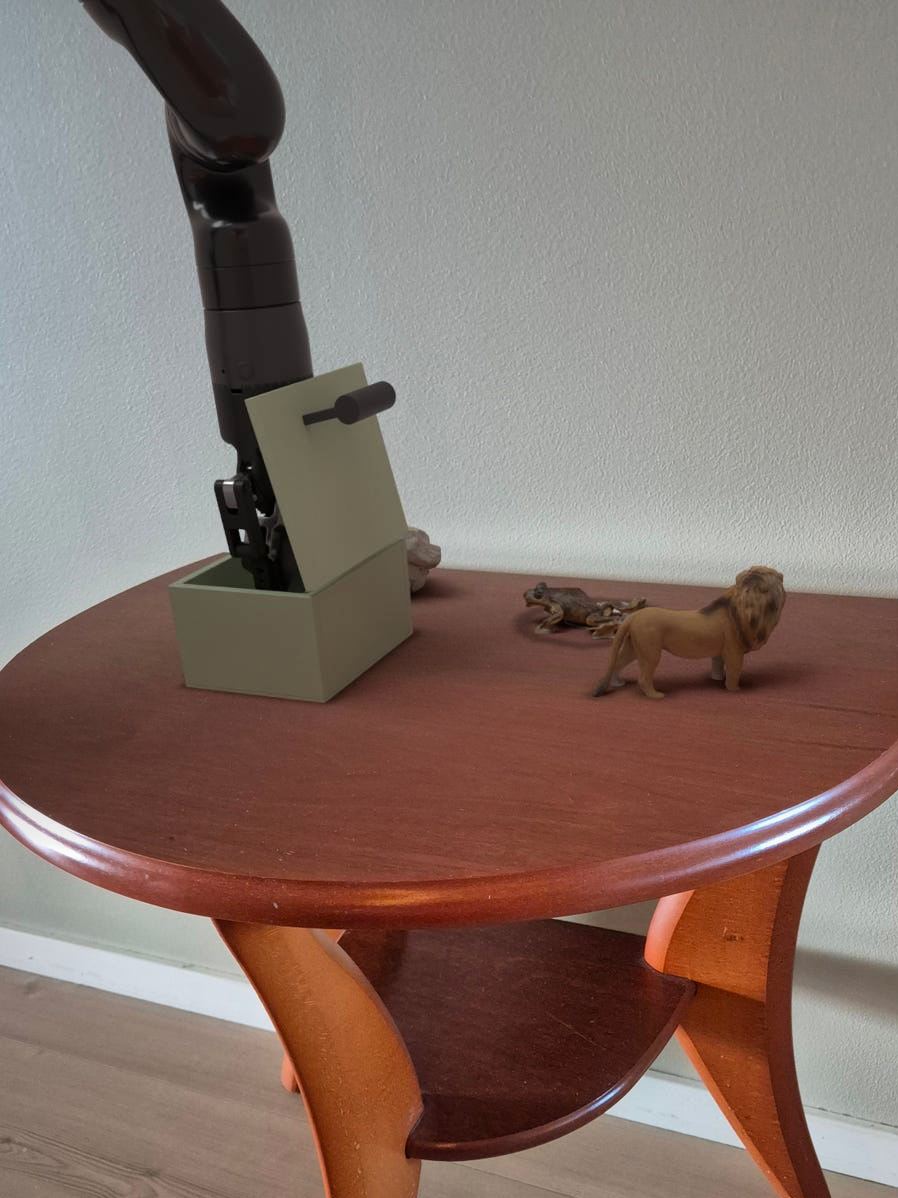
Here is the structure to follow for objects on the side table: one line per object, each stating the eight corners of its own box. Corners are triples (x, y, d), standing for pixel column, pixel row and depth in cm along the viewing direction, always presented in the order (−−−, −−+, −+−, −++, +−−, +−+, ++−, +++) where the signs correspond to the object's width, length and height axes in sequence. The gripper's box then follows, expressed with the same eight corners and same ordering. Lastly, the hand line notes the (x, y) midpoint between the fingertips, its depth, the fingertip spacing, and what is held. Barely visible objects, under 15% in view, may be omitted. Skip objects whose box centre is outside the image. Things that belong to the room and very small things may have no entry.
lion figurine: (762, 667, 93) (771, 554, 88) (792, 692, 88) (802, 574, 84) (583, 691, 91) (582, 576, 86) (603, 717, 86) (604, 597, 82)
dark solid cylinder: (278, 611, 94) (232, 579, 94) (316, 584, 98) (272, 554, 98) (302, 550, 90) (254, 517, 90) (340, 526, 94) (295, 494, 94)
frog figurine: (509, 652, 99) (507, 608, 97) (529, 605, 109) (528, 565, 107) (647, 654, 97) (648, 609, 95) (655, 606, 107) (656, 565, 105)
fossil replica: (357, 574, 121) (309, 613, 113) (339, 494, 116) (288, 529, 109) (464, 573, 116) (421, 614, 108) (450, 489, 111) (404, 526, 104)
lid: (243, 400, 80) (312, 381, 77) (353, 363, 93) (415, 347, 90) (306, 592, 86) (371, 581, 83) (401, 533, 98) (460, 521, 96)
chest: (187, 693, 94) (166, 585, 90) (288, 626, 107) (275, 529, 103) (325, 709, 90) (311, 597, 86) (414, 638, 103) (405, 537, 98)
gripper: (268, 357, 94) (297, 563, 103) (162, 388, 83) (205, 618, 91) (351, 356, 92) (374, 568, 100) (254, 388, 80) (289, 625, 89)
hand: (293, 591), depth 96 cm, fingers open, 6 cm apart
